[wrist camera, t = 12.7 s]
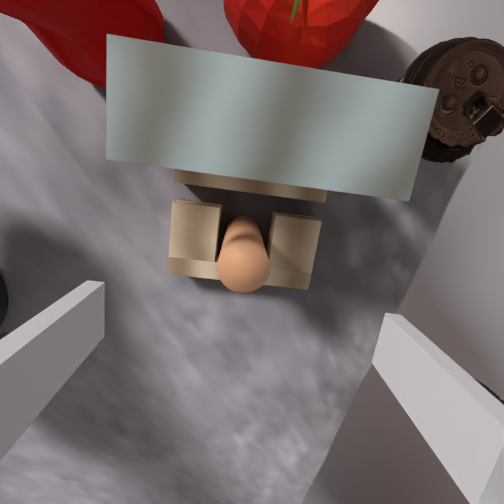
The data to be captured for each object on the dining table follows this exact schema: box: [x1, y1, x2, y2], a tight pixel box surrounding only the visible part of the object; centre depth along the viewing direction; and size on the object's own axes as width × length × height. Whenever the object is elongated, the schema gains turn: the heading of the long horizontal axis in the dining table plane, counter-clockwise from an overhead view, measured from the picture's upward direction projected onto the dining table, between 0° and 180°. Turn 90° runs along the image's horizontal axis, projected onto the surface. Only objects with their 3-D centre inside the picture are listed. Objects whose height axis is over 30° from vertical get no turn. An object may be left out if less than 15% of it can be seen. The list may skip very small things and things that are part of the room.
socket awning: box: [106, 34, 439, 290], centre depth 25 cm, size 16×17×19 cm
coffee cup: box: [396, 37, 504, 163], centre depth 26 cm, size 9×8×13 cm
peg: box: [217, 216, 270, 293], centre depth 29 cm, size 4×4×14 cm
